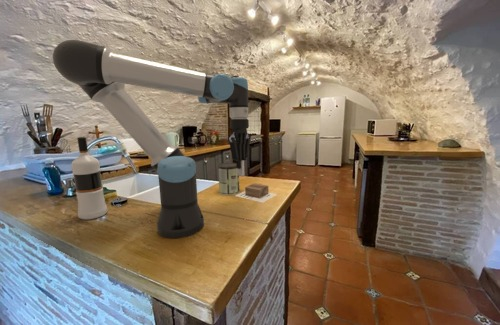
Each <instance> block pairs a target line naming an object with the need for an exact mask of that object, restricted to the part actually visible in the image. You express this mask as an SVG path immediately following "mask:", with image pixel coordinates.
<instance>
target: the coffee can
mask: <svg viewBox="0 0 500 325" xmlns="http://www.w3.org/2000/svg"><path fill="white" fill-rule="evenodd" d="M217 167H218V186H219V187H218V189H219V194H220V195H223V196H224V195H225V196H233V195H234V196H235V195H237V194H239V193H241V192H240V176H238V175H237V164H236V163H235V162H223V163H220V164H218V165H217Z"/></svg>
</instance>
